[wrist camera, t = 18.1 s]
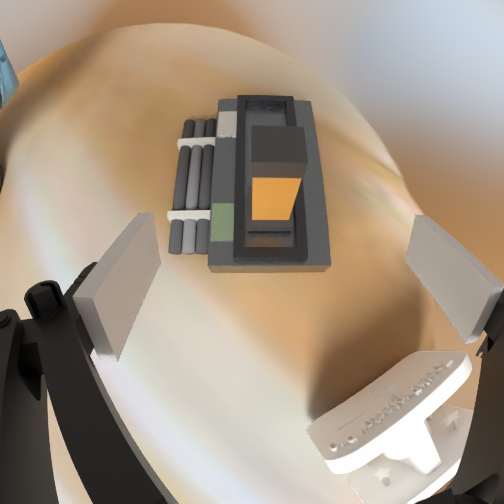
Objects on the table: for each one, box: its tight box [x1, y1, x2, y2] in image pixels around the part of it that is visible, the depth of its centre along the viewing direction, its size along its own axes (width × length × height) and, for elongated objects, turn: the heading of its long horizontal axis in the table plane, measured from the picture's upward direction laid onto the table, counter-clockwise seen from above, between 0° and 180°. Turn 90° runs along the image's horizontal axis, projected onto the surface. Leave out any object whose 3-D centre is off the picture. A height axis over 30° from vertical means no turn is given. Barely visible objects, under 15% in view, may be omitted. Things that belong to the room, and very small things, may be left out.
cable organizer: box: [306, 350, 474, 504], centre depth 21 cm, size 15×11×12 cm
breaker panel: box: [208, 95, 331, 273], centre depth 32 cm, size 22×12×4 cm, turn 0°
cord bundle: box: [167, 119, 217, 254], centre depth 33 cm, size 18×5×2 cm, turn 0°
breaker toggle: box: [247, 125, 308, 231], centre depth 24 cm, size 4×4×11 cm
